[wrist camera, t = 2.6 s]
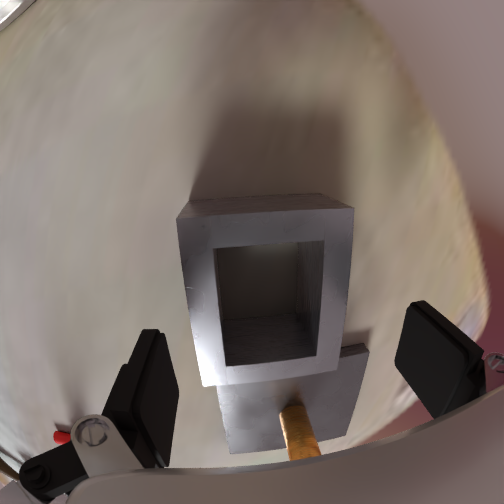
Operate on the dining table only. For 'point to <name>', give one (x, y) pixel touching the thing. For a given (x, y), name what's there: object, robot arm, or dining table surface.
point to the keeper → (293, 408)
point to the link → (308, 285)
